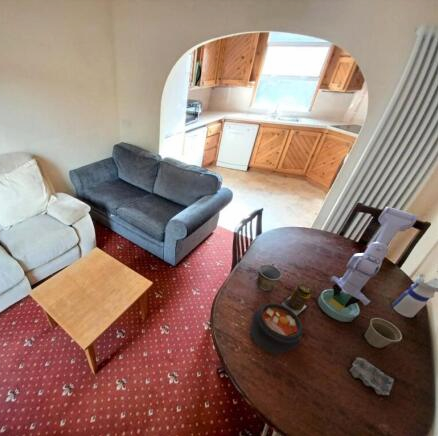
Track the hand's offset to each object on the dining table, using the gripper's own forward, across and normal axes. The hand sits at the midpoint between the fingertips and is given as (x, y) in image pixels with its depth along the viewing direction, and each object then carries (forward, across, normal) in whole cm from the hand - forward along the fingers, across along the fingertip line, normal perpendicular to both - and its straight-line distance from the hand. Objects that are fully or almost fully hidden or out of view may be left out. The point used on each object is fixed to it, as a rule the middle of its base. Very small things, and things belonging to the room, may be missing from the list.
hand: (340, 301), depth 105 cm
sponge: (+1, 0, 0) cm, 1 cm away
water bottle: (+5, +13, +27) cm, 30 cm away
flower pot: (+5, +16, -1) cm, 17 cm away
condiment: (+5, -9, -16) cm, 19 cm away
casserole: (+5, -4, -34) cm, 35 cm away
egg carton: (+5, +23, -18) cm, 30 cm away
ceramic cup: (+5, -24, -18) cm, 30 cm away
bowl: (+5, 0, 0) cm, 5 cm away
